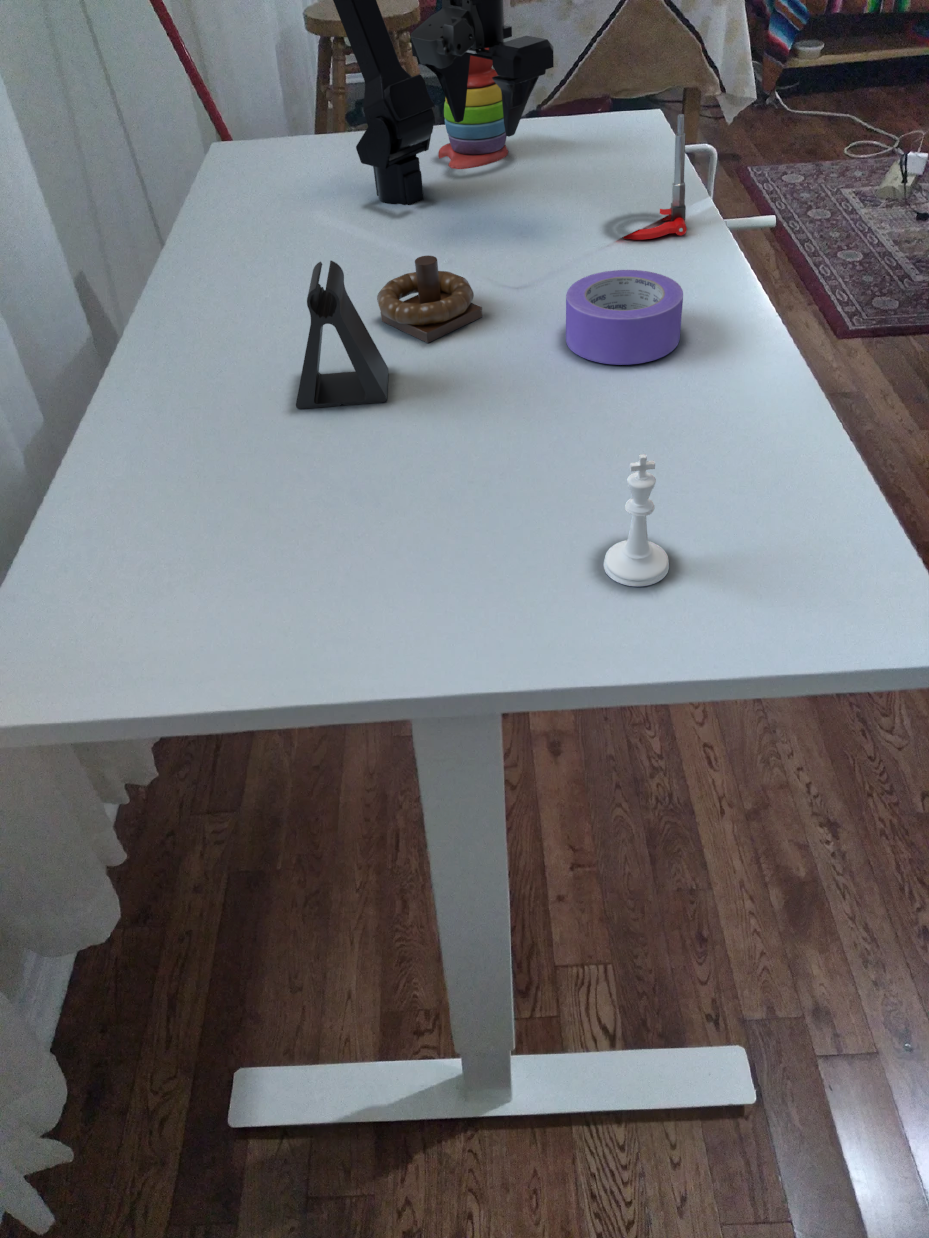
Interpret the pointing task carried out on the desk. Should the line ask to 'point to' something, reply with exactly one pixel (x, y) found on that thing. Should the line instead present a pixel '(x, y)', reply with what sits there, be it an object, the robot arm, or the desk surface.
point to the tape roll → (623, 316)
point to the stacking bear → (477, 121)
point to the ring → (426, 311)
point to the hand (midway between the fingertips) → (484, 128)
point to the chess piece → (638, 535)
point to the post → (431, 293)
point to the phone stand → (358, 344)
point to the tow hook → (678, 196)
